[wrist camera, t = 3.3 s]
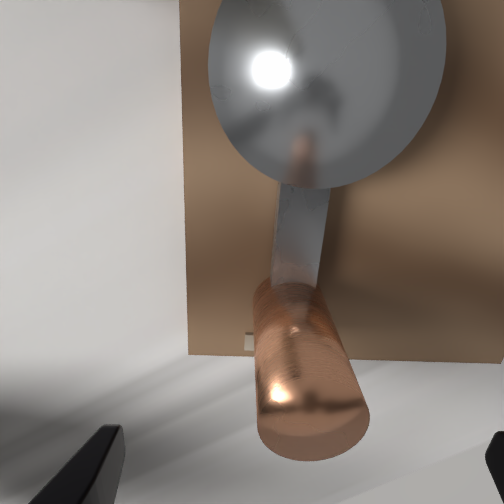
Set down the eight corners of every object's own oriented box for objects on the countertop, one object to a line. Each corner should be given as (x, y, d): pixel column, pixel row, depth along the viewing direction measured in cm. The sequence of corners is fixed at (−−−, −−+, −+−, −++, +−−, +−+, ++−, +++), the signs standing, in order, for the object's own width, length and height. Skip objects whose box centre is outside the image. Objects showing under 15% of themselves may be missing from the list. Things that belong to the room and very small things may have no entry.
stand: (483, 346, 17) (539, 403, 14) (192, 337, 16) (179, 395, 13) (785, -378, 8) (1130, -678, 5) (176, -457, 7) (127, -856, 4)
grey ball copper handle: (214, -61, 9) (177, -261, 4) (440, -43, 9) (674, -209, 4) (211, 329, 14) (193, 459, 9) (356, 334, 14) (416, 462, 9)
